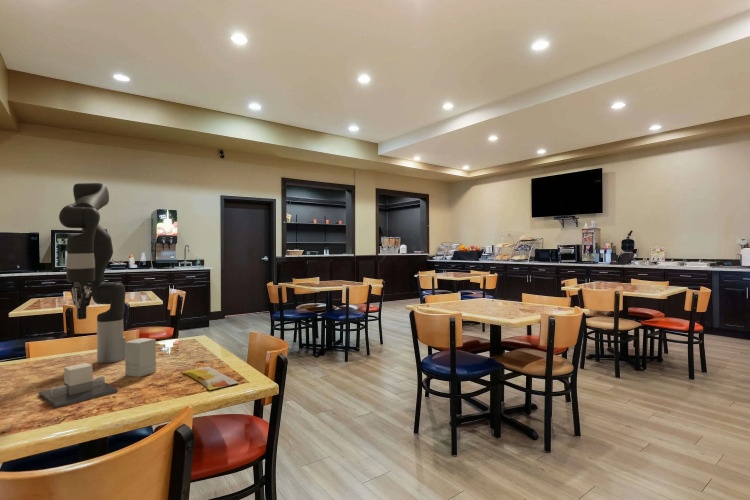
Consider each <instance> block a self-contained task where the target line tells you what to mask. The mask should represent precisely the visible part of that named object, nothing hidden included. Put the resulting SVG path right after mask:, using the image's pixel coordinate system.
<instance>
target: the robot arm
mask: <svg viewBox="0 0 750 500" xmlns="http://www.w3.org/2000/svg"><path fill="white" fill-rule="evenodd" d="M72 191H73V193H72V194H73V198H74V203H70V204H68V205H65V206H64V207H63V208H62V209H60V211H59V214H58V220H59V223H60V224H61V225H62V226H63V227H65V228H67V229H68V228H69V229H81V231H82V233H80V234H76V235H75V234H73V235H70V236H68V237H67V239H66V250H67V251H66V253H67V254H66V261H65V262H66V265H65V266H66V267H65V268H66V270H65V271H66V281H67V282H68V283H73V287H71V290H70V295H71V298H72V303H73V306H75V308H76V319H77V320H79V321H82V320H86V319H87V308H88V307H90V304H91V300H92V301H93V302H94V303H95V304H97V305H110V307H109V308H108V309H107V310H105V311H104V312H100V313H98V314H97V316H96V354H97V355H96V361H97V363H99V364H109V363H115V362H119V361H122V360H125V342H126V336H124V314H125V307H126V306H125V305H126V304H125V303H126V287H125V286H124V284H123V283H122V282H106V280H105V271H106V268H107V266H108V265H109V263H110V261H111V260H112V257H113V254H114V248H113V242H112V241H113V240H112V237H111V235H110V233H108V231H107V230H106V229H105V228H103V227H102V226H101V224H99V222H100V219H101V216H100V215H101V214H100V212H99V210H100V209H102V208H103V207H106V206H107V205H108V203H109V201H110V193H109V190H108V187H107V185H106V184H104V183H103V182H101V183H100V182H85V183H84V182H82V183H75V184H73V187H72ZM89 282H90V285H89Z"/></svg>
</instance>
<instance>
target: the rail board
mask: <svg viewBox="0 0 750 500" xmlns="http://www.w3.org/2000/svg"><path fill="white" fill-rule="evenodd" d="M115 393H118V388H117V387H115V386H113V385H111V384H109V383H107V382H106V379H105V376H98V377H94V378H93V377H92V390H88V391H84V392H80V393H76V394H72V395H69V385H64V384H63V385H59V386H55V387H50V388H49V389H46V390H42V391H39V392H38V396H40V397H41V398H42V399H44V400H45V401H46V402H47V403H49V404H50V405H51V406H52V407H53V408H55V409H57V408H62V407H65V406H68V405H73V404H77V403H80V402H81V403H82V402H84V401H88V400H92V399H95V398H99V397H103V396H108V395H111V394H115Z"/></svg>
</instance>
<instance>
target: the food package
mask: <svg viewBox="0 0 750 500" xmlns="http://www.w3.org/2000/svg"><path fill="white" fill-rule="evenodd" d="M182 373H183V374H184V375H186V376H188V377H190V378H192V379H194V380H196V381H197V382H199V383H200V384H201V385H203V386H204V387H206V388H207V390H209V391H211V390H216V389H220V388H224V387H228V386H232V385H236V384H239V382H238V381H237V380H234V379H233V378H231V377H229V376H227V375H225V374H223V373H221V372H220V371H218V370H216V369H214V368H212V367H211V366H209V365H208V366H204V367H200V368H199V367H198V368H194V369H190V370H185V371H182Z"/></svg>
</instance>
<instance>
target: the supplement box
mask: <svg viewBox="0 0 750 500" xmlns="http://www.w3.org/2000/svg"><path fill="white" fill-rule="evenodd" d="M156 341H157V339H156V338H148V337H147V338H145V337H141V338H136V339H131V340H129V341H125V359H124V362H125V363H124V364H125V365H124V366H125V370H124V371H125V373H124V374H125V376H129V377H136V378H137V377H139V378H140V377H143V376H144V377H145V376H146V375H150V374H153V373H156V372H157V361H156V360H157V357H156V356H157V350H156V344H157V343H156Z"/></svg>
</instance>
